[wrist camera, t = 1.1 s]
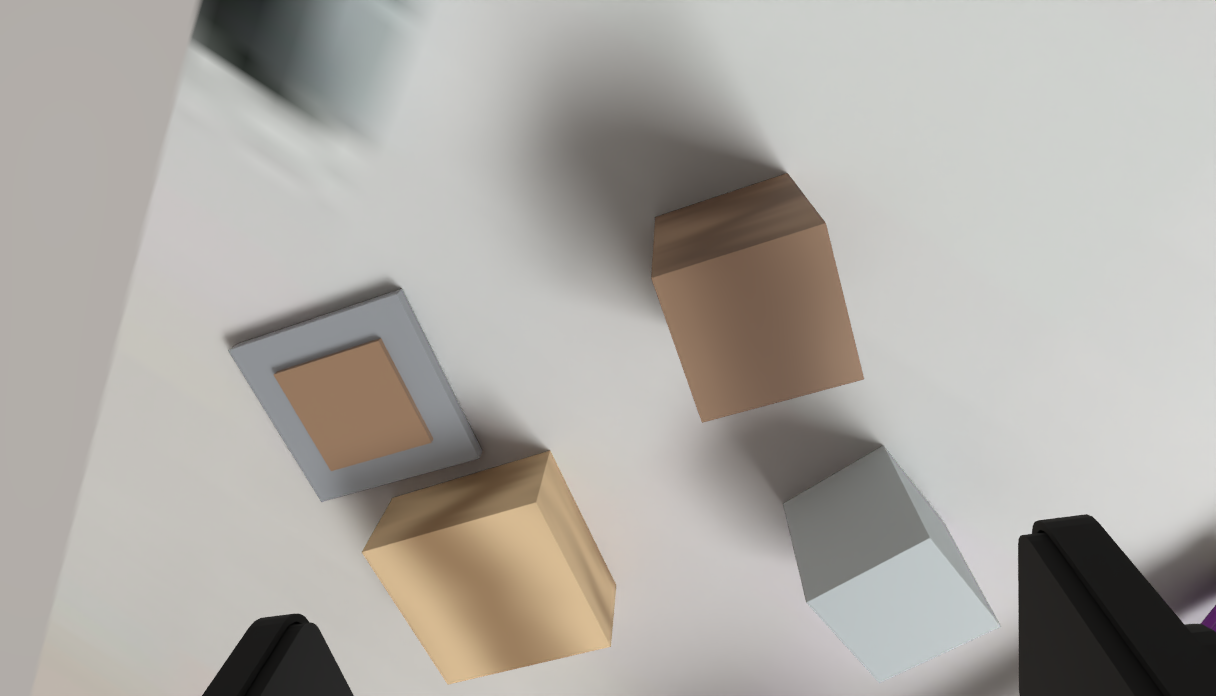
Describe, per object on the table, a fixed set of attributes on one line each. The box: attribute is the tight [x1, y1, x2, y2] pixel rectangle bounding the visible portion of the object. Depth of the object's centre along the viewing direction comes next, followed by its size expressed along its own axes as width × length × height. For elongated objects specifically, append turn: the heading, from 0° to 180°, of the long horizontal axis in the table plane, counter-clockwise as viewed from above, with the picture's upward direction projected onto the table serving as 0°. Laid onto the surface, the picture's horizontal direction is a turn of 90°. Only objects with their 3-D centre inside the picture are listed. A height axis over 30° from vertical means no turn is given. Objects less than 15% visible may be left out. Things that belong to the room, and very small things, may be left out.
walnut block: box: [651, 173, 864, 423], centre depth 24 cm, size 5×5×7 cm
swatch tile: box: [228, 289, 482, 502], centre depth 31 cm, size 8×8×1 cm
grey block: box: [783, 445, 1001, 683], centre depth 29 cm, size 5×5×6 cm
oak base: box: [362, 451, 616, 684], centre depth 32 cm, size 8×8×4 cm
